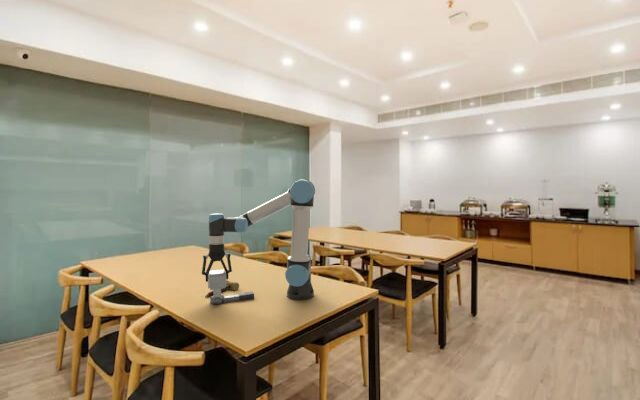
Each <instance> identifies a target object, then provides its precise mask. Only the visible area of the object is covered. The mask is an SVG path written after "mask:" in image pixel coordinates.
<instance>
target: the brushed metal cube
mask: <svg viewBox="0 0 640 400" xmlns="http://www.w3.org/2000/svg"><path fill="white" fill-rule="evenodd" d="M225 273H226V272H225V270H224V268H223V269H215V270H210V272H209V275H210V288H209V290H210V291H213V290H215V289H223V288H226V281H227V280H226V281H225Z"/></svg>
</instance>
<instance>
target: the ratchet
mask: <svg viewBox="0 0 640 400" xmlns="http://www.w3.org/2000/svg"><path fill="white" fill-rule="evenodd" d="M212 291H213V296H211V297H209V300H210V305H211V304H212V306H220V305H223V304H225V303H226V304H227V303H233V302H238V301H248V300H249V301H250V300H254V299H255V293H254V292H253V291H247V292H238V293H237V294H231V295H223V294H222V292H221V289H215V290H212Z"/></svg>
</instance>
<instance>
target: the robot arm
mask: <svg viewBox="0 0 640 400" xmlns="http://www.w3.org/2000/svg"><path fill="white" fill-rule="evenodd" d="M314 185H315V184H313V183H312V181H310V180H308V179H304V178H303V179H302V178H300V179H296V180H295V181H294V182H293V183H292V184H291V186H290V187H289V188H288V189H287V191H286V192H284V193H282V194H280V195H278V196H276V197H274V198H272V199H270V200H268V201H267V202H264V203H262V204H261V205H259V206H256V207H255V208H252V209H251V210H249V211H246V212H245V213H243V214H241V215H239V216H236V217H225V215H224V213H220V212H219V213H216V212H215V213H210V214H209V216H208V243H209V245H208V254H203V255H202V258H203V262H202V268H201V275H203V276H204V277H205V282H206V283H207V288H208V289H210V275H209V272H210V271H211V269H212V267H213V265H214V262H220V263H221V265H222V267H223V270H224V271H225V281H228V280H229V273H231V272H233V269H232V262H231V253H230V252H228V253H227V252H225V233H246V232H247V230H248V228H249V227H250V226H252V225H255V224H256V223H258V222H261V221H263V220H265V219H266V218H268V217H270V216H272V215H275V214H276V213H278V212H281V211H282V210H284V209H286V208H288V207H292V227H291V241H290V245H291V246H290V255H288V257H287V262H286V270H285V273H284V274H285V280H286V282H287V283H288V288H287V290H286V297H288V299H291V300H298V301H299V300H301V301H302V300H309V299H312V298H313V297H314V296H315V291H314V288H313V284H312V280H311V279H312V272H311V271H312V268H311V267H312V256H311V254H308V249H309V233H310V232H309V231H310V218H311V217H310V215H311V209H312V208H313V207H314V200H315V199H314V198H315V193H316V188H315V186H314ZM224 257H226V260H227V266H226V262H225V261H224ZM208 258H210V262H209V264H208V266H207V260H208ZM206 267H207V269H206ZM227 267H228V268H227Z"/></svg>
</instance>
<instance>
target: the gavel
mask: <svg viewBox="0 0 640 400" xmlns="http://www.w3.org/2000/svg"><path fill="white" fill-rule="evenodd" d="M239 288H240V283H238V282H235V281H234V282H233V281H229V280H226V288H223V289H221V293H222V292H224V291H227V289H229V290H232V291H237V290H239ZM211 296H213V290H210V291H209V292H208V293H207V294H206V295H204V297H205V298H210V297H211Z"/></svg>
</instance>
